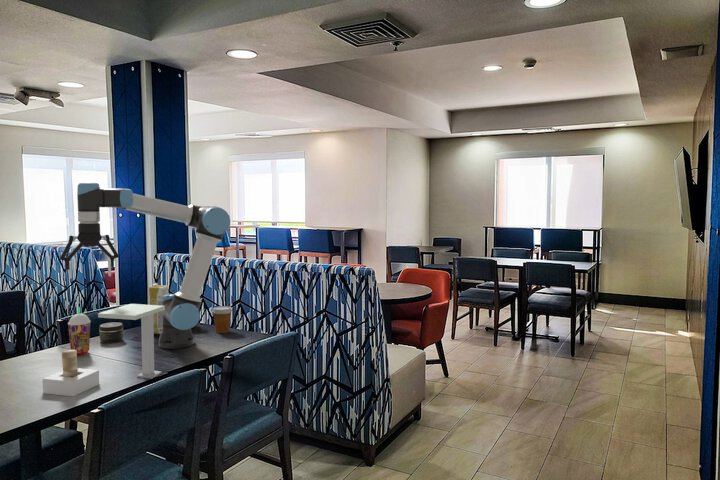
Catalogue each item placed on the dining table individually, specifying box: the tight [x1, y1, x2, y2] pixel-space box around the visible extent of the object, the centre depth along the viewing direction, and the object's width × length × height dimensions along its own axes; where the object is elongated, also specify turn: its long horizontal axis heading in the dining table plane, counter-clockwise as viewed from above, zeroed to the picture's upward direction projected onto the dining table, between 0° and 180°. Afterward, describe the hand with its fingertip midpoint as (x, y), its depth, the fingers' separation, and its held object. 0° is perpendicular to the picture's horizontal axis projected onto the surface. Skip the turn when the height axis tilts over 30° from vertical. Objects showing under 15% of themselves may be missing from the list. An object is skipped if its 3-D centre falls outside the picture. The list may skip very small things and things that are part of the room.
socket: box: [42, 367, 100, 397], centre depth 178 cm, size 12×12×5 cm
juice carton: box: [147, 283, 169, 335], centre depth 254 cm, size 9×8×24 cm
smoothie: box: [67, 306, 92, 357], centre depth 216 cm, size 8×8×20 cm
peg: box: [61, 349, 78, 378], centre depth 177 cm, size 4×4×12 cm
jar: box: [98, 322, 124, 344], centre depth 238 cm, size 10×10×8 cm
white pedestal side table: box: [97, 303, 165, 380], centre depth 192 cm, size 17×18×24 cm
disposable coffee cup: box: [211, 305, 233, 334], centre depth 257 cm, size 10×10×12 cm
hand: (90, 277), depth 202 cm, fingers open, 13 cm apart
